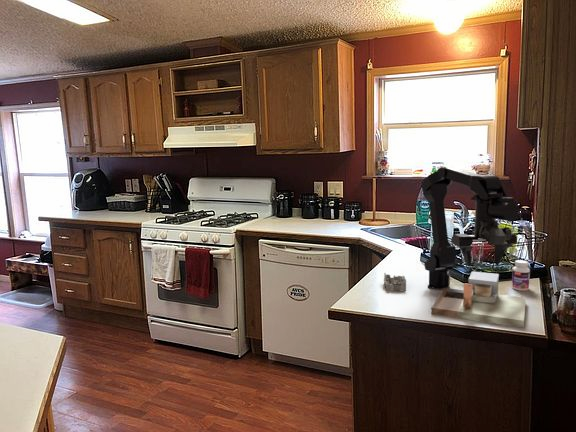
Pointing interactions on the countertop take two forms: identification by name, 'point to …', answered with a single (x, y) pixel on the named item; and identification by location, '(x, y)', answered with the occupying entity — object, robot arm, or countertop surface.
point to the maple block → (483, 290)
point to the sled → (475, 296)
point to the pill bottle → (520, 275)
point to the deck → (481, 308)
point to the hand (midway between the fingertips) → (482, 265)
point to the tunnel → (484, 280)
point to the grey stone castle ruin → (395, 282)
